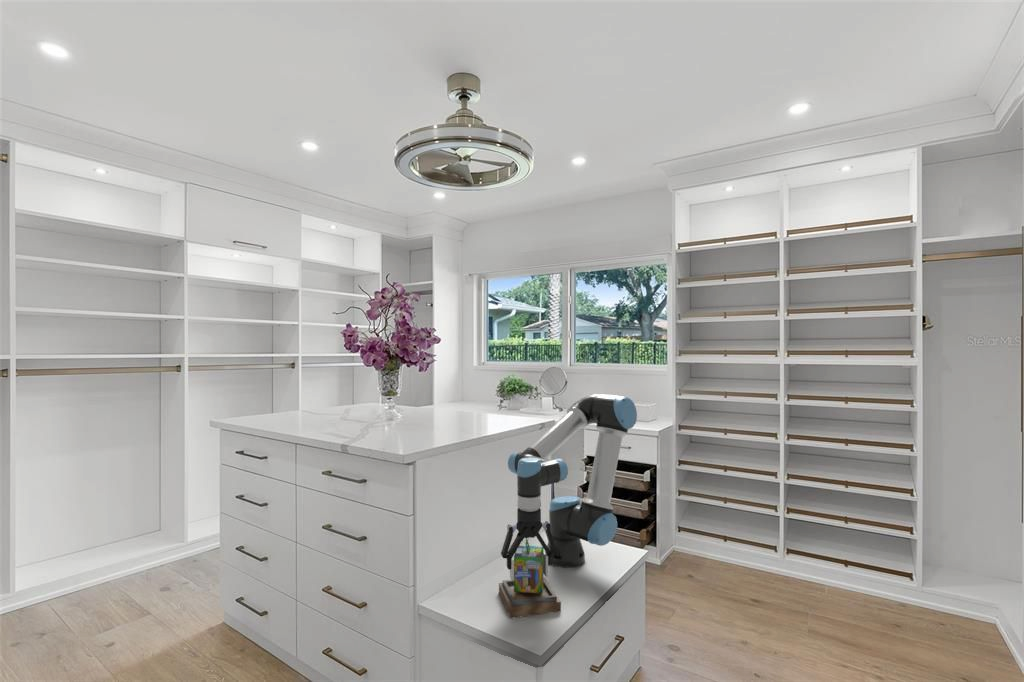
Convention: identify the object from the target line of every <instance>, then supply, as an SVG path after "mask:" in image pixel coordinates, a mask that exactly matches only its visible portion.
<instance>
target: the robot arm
mask: <svg viewBox="0 0 1024 682" xmlns="http://www.w3.org/2000/svg"><path fill="white" fill-rule="evenodd" d="M637 411H638V410H637V407H636V405H635V402H634V401H633V400H632V399H631V398H630V397H627V396H622V395H616V394H615V395H614V394H604V393H593V394H589V395H587V396H585V397H582V398H581V399H579V400H577V401H575V403H573V404H572V405H571V406H570V407H568V408H567V411H566V414H564V415H563V416H561V418H560V419H559V420H558V421H556V422H555V423H554V424H553V425H552V426H551V427H550V428H548V429H547V430H545V432H544V433H543V434H541V435H540V436H539V437H538V438H537V439H536V440H535V441H534V442H532V444H530V445H528V447H526V449H524V450H523V451H522V452H521V451H515V452H512V453H511V454H510V455H509V457H508V460H507V468H508V470H509V471H510V472H511V473H513V474H515V475H517V477H516V479H517V487H516V488H517V507H518V508H517V509H516V510H517V512H516V516H517V519H516V520H517V521H516V524H515V525H514V524H513V525H511V524H507V526H506V528H507V532H506V535H505V539H504V543H503V545H502V549H501V552H500V555H501V558H503V559H505V560H506V567H507V570H509V579H510V580H512V581H514V555H515V552H516V550H517V548H518V547H519V546H521V543H522V542H523V540H524V539H526V538H527V539H528V538H532V539H533V538H535V537H536V539H537V540H538V542H539V543H540V545H541V547H543V551H544V552H543V576H545V577H546V578H548V577H549V566H551V565H552V564H553V565H552V566H555V565H556V566H555V567H559V566H561V567H562V568H573V567H578V566H580V565H582V564H583V563H584V562H585V561H586V559H585V558H586V556H585V555H586V554H585V551H584V546H583V544H582V540H583V541H586V542H588V543H589V544H591V545H596V546H600V547H601V546H606V545H608V544H609V543H610V542H611V541H612V540H613V538H614V537H615V534H616V532H617V529H618V521H617V520H618V519H617V517H616V515H614V514H613V512H614V507H613V505H612V504H611V499H612V495H613V488H614V483H615V480H616V479H615V478H616V473H617V468H618V462H619V455H620V452H621V446H622V441H623V438H624V437H625V436H626V435H628V430H630V429H633V428H634V427H635V425H636V423H637V420H638V418H637V417H638V412H637ZM590 424H596V427H595V428H596V429H597V431H598V436H597V437H598V438H597V444H596V447H595V449H596V450H595V454H594V459H593V464H592V470H591V474H590V479H589V484H588V487H587V488H588V490H587V495H586V497H585V498H583V499H580V498H579V497H578V496H573V495H572V496H571V495H569V496H567V495H566V496H565V495H564V496H559V497H555V498H553V499H552V500H550V502H549V510H548V512H549V513H548V514H549V518H548V519H549V521H545V522H542V520H541V519H542V515H541V514H542V509H541V507H542V487H545V486H549V485H552V484H557V483H560V482H561V481H562V482H563V481H565V480H566V478H568V474H569V468H568V465H567V463H566V461H564V460H563V459H561V458H553V459H548V458H549V457H550V456H552V455H553V453H555V452H556V451H557V450H558V449H559V448H560V447H562V446H563V445H564V444H565V443H566V442H567V441H568V440H569V439H570V438H571V437H572V436H573V435H575V433H576V432H577V431H578V430H580V429H586V427H587V426H588V425H590ZM541 529H543V530H544V532H545V535H546V537H547V540H548V541H547V544H546V542H545V540H544V538H543V537H542V536H541V534H540V531H541ZM516 531H518V532H517V534H516V537H515V539H514V540H513V541H512V539H513V537H514V533H515V532H516ZM561 567H560V568H561Z"/></svg>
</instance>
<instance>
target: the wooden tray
mask: <svg viewBox="0 0 1024 682" xmlns="http://www.w3.org/2000/svg"><path fill="white" fill-rule="evenodd" d="M543 580H544V581H543V593H542V594H540V593H523V592H514V581H512V580H511V579H506V580H502V582H498V594H499V596H500V598H501V600H502V602H504V603H503V605H504V607H505V608H506V611H507V614H508V616H509V618H510V619H514V618H513V617H515V618H521V617H520V616H523V617H528V615H530V616H537V615H544V614H551V613H550V612H553V613H558V611H560V612H562V611H561V610H562V601H561V600H560V598H559V597H558V595H557V593H556V592H555V590H554V589H553V588H552V585H551V584H550V583H549V582H548V580H547V579H546V578H545V577H544V576H543Z"/></svg>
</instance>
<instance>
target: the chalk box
mask: <svg viewBox="0 0 1024 682" xmlns="http://www.w3.org/2000/svg"><path fill="white" fill-rule="evenodd" d="M543 553H544V548H543V547H542V546H534V545H530V543H529V541H528V538H525V545H519V547H518V548H517V550H516V552H515V554H514V555H513V559H514V592H523V593H540V594H542V593H543V581H544V580H543V577H544V573H543Z"/></svg>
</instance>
